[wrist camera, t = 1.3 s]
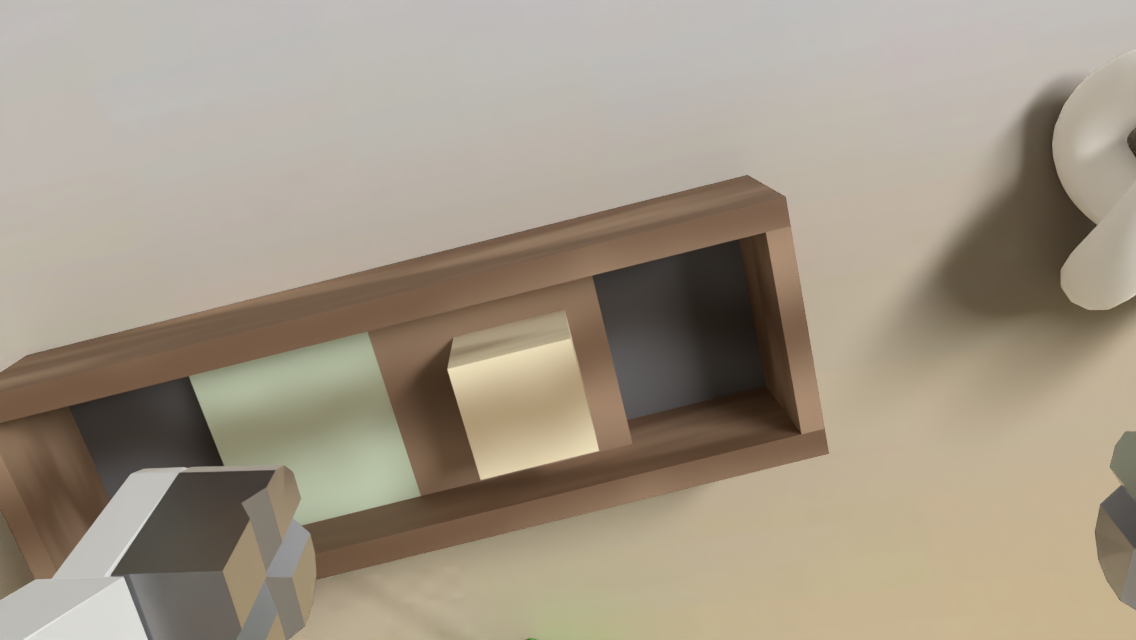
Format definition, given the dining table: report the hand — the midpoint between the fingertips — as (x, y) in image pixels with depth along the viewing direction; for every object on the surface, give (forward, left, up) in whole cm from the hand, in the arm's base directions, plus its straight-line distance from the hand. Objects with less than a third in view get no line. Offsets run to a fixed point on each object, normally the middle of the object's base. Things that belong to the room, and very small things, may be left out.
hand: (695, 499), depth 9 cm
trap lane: (-9, +9, -33) cm, 35 cm away
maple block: (-9, +4, -30) cm, 31 cm away
